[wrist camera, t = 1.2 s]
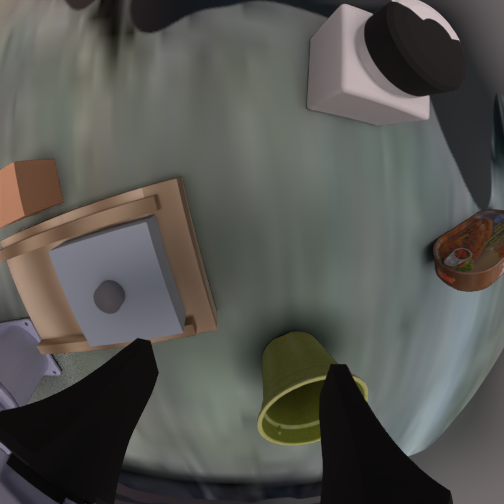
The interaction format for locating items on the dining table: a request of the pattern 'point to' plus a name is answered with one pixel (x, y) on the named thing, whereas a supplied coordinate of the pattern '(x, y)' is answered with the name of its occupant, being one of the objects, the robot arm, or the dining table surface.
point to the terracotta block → (28, 189)
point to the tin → (472, 252)
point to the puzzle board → (94, 219)
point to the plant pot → (294, 388)
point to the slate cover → (120, 283)
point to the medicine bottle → (383, 63)
